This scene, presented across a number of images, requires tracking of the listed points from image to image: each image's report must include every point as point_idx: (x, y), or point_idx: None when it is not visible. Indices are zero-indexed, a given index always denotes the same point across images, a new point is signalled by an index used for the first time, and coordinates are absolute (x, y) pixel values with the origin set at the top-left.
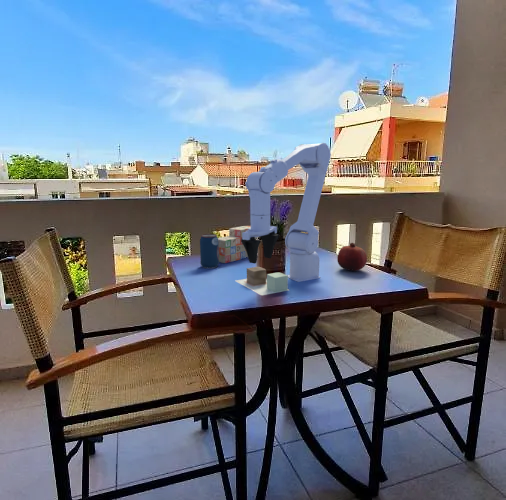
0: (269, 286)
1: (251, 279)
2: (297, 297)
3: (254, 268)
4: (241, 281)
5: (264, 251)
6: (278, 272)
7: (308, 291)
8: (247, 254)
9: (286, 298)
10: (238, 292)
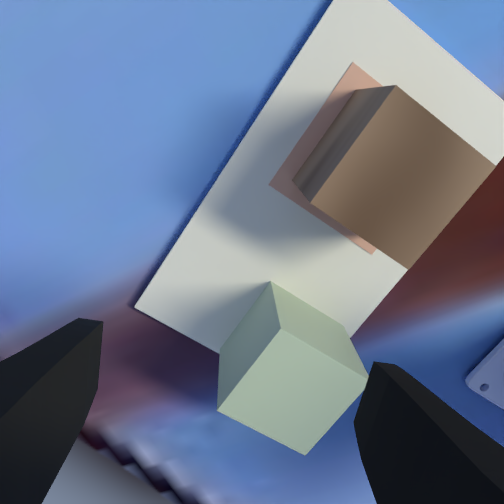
0: (253, 315)
1: (317, 157)
2: (223, 449)
3: (413, 161)
4: (352, 42)
5: (404, 406)
6: (360, 379)
7: (334, 461)
8: (9, 360)
9: (183, 415)
10: (136, 138)
